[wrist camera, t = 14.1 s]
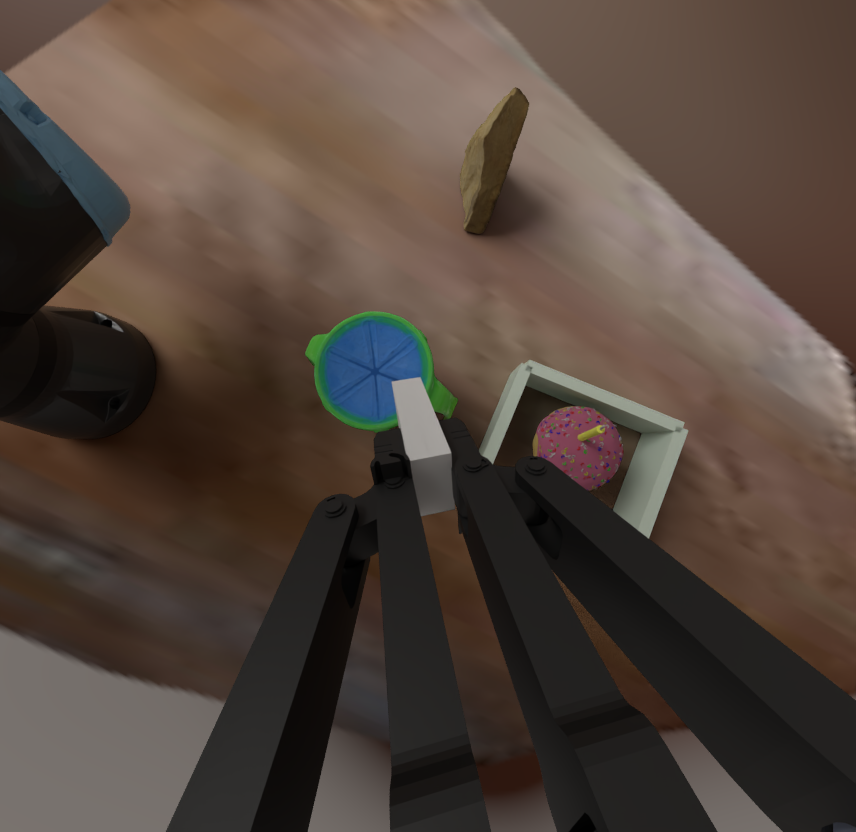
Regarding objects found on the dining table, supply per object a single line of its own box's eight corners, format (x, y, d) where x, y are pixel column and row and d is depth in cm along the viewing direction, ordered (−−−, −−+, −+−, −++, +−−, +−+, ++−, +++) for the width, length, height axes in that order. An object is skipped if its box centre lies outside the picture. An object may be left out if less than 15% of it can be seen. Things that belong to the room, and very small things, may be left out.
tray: (602, 568, 35) (630, 588, 30) (456, 503, 36) (459, 512, 31) (655, 427, 36) (690, 424, 31) (512, 369, 37) (523, 357, 32)
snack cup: (312, 396, 38) (265, 378, 27) (357, 321, 38) (327, 276, 28) (426, 462, 36) (421, 468, 26) (470, 383, 37) (482, 359, 27)
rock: (499, 243, 36) (552, 166, 35) (462, 176, 30) (525, 80, 29) (441, 234, 43) (484, 170, 43) (401, 179, 37) (450, 102, 36)
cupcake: (507, 436, 36) (541, 432, 24) (568, 396, 37) (632, 372, 25) (550, 500, 36) (607, 528, 24) (613, 459, 36) (700, 466, 24)
